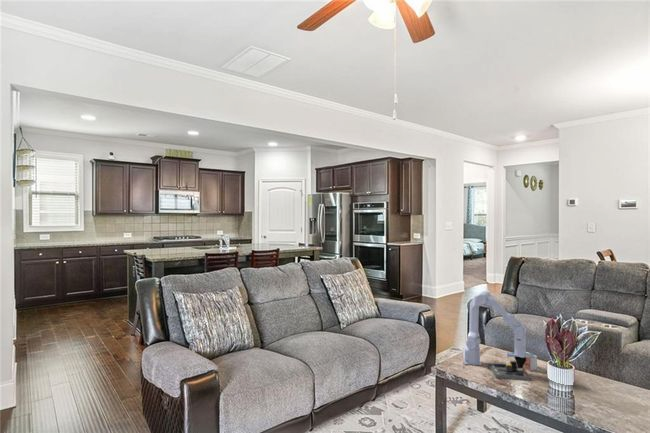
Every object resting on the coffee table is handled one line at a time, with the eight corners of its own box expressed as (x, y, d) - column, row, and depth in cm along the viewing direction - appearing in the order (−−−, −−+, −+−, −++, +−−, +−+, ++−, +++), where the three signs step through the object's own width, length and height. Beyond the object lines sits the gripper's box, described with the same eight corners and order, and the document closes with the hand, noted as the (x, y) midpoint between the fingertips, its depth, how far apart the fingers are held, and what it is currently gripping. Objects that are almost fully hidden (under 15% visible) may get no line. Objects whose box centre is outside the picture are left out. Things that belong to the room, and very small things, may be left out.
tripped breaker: (506, 371, 211) (506, 364, 211) (505, 369, 213) (505, 363, 213) (512, 371, 211) (512, 364, 211) (511, 369, 213) (511, 363, 213)
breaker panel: (496, 378, 206) (496, 368, 206) (488, 366, 221) (488, 357, 221) (531, 380, 203) (531, 370, 203) (521, 368, 218) (521, 359, 218)
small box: (515, 350, 224) (530, 357, 214) (522, 349, 226) (537, 355, 216) (515, 364, 224) (530, 371, 214) (522, 363, 226) (537, 369, 216)
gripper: (508, 347, 208) (508, 372, 208) (536, 349, 206) (536, 373, 206) (504, 343, 215) (504, 366, 215) (531, 344, 213) (531, 368, 213)
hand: (520, 369), depth 211 cm, fingers closed
